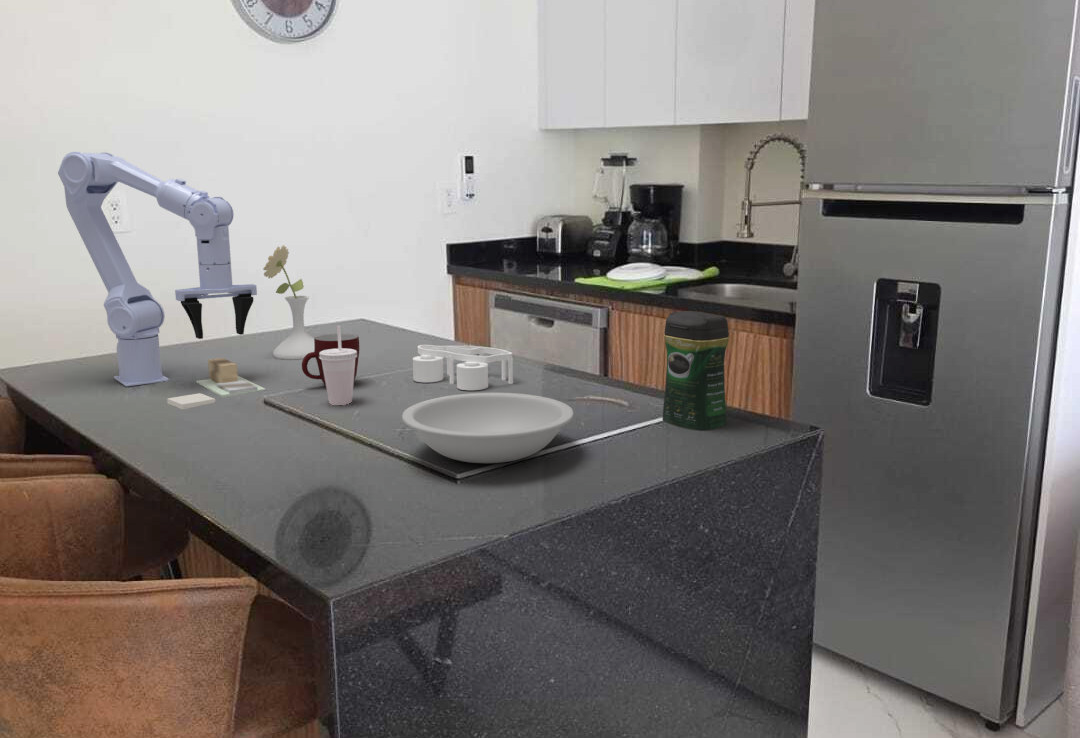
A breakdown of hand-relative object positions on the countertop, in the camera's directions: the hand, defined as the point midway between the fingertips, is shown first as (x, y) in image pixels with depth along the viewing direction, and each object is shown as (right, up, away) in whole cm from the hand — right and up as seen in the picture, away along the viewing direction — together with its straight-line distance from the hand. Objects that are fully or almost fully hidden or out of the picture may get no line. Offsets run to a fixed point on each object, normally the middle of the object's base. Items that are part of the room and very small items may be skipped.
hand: (220, 336), depth 176 cm
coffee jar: (+84, -16, -31) cm, 91 cm away
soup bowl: (+53, -19, -44) cm, 71 cm away
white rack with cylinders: (+45, -10, -1) cm, 47 cm away
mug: (+22, -11, -3) cm, 24 cm away
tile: (-3, -12, -10) cm, 16 cm away
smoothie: (+26, -13, -15) cm, 32 cm away
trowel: (+2, -9, -1) cm, 9 cm away
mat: (+2, -10, -1) cm, 10 cm away
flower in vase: (+8, -5, +25) cm, 27 cm away
